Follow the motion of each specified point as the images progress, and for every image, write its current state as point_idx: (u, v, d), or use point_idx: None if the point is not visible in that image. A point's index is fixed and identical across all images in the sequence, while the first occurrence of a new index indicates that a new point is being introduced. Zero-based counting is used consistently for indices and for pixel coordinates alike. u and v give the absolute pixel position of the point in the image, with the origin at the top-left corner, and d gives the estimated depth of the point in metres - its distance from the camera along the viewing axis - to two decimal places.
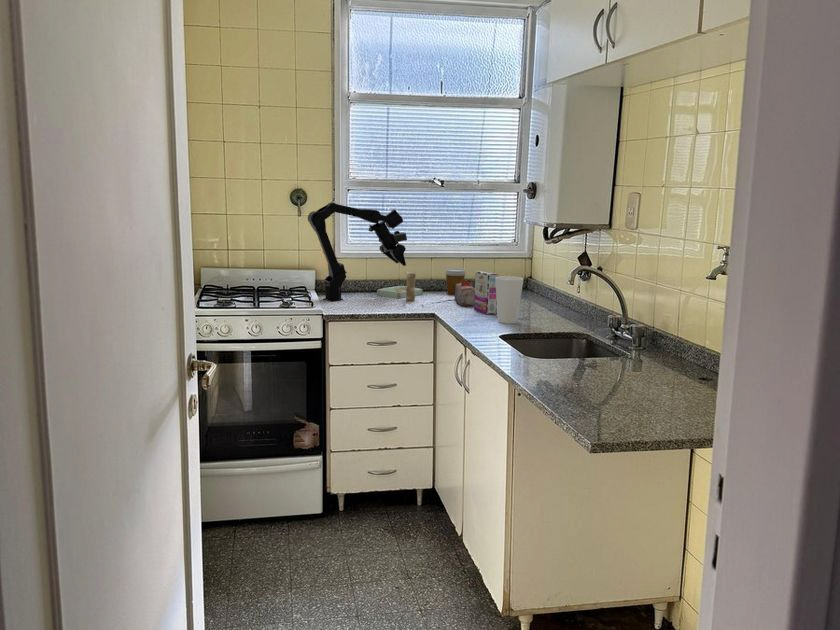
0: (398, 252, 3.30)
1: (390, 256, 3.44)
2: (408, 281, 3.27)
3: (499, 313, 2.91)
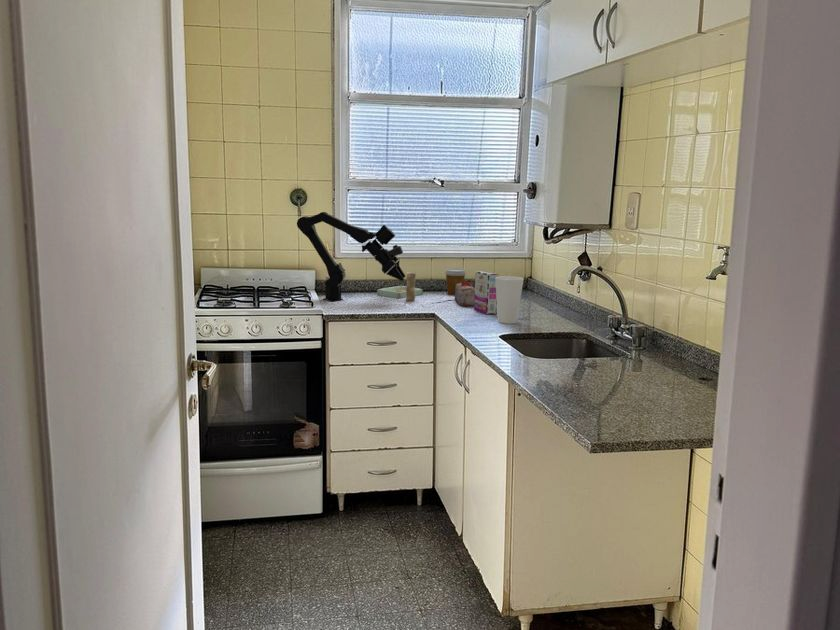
0: (387, 269, 3.19)
1: None
2: (408, 281, 3.27)
3: (499, 313, 2.91)
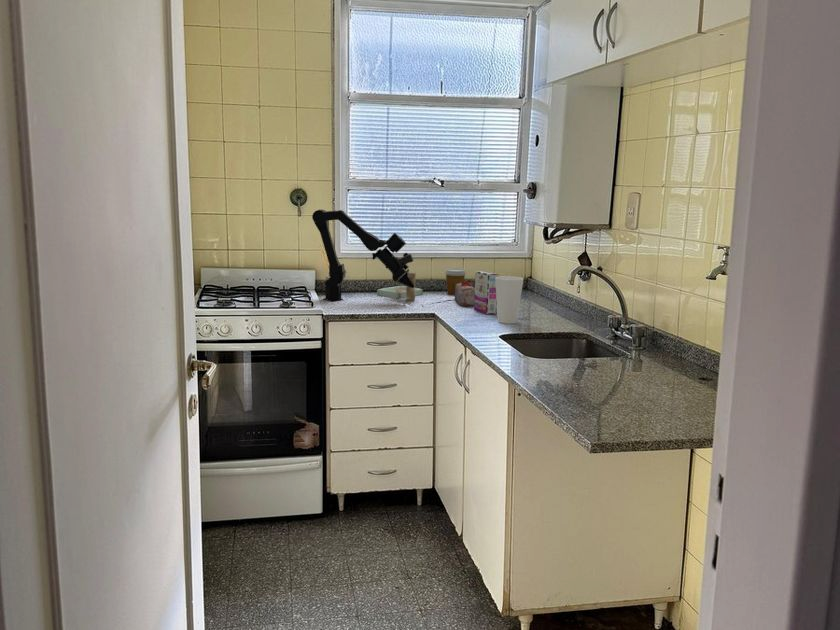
0: (398, 277, 3.20)
1: None
2: None
3: (499, 313, 2.91)
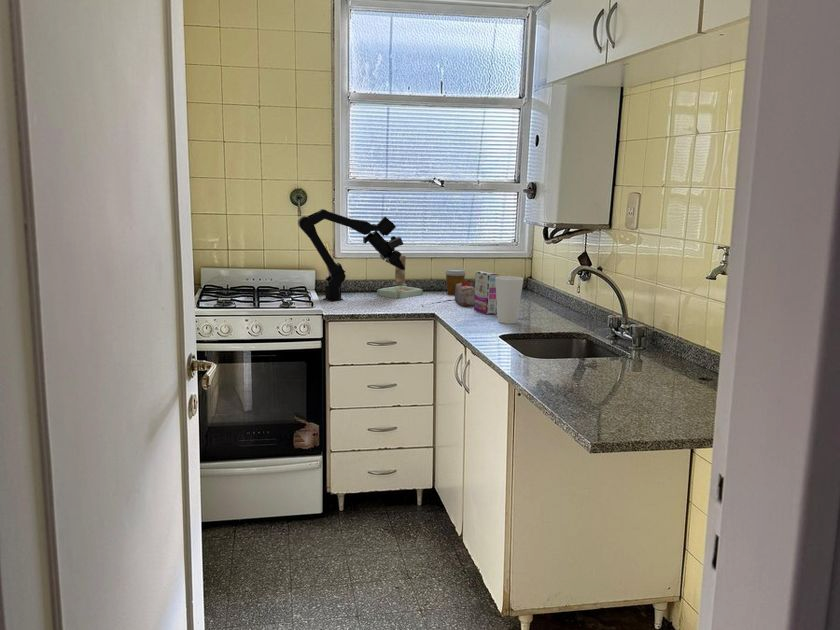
0: (394, 259, 3.27)
1: None
2: None
3: (499, 313, 2.91)
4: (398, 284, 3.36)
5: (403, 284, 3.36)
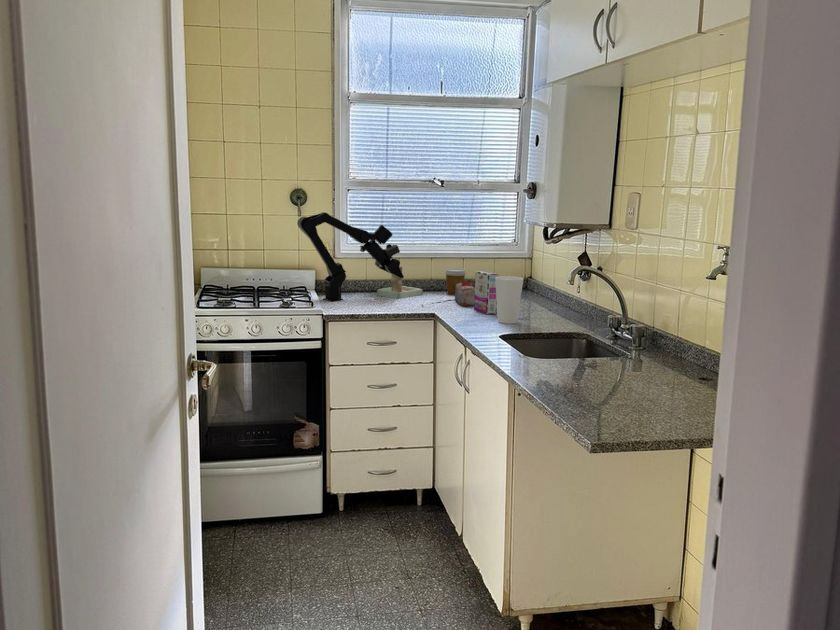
0: (393, 267, 3.30)
1: (387, 270, 3.44)
2: None
3: (499, 313, 2.91)
4: None
5: None
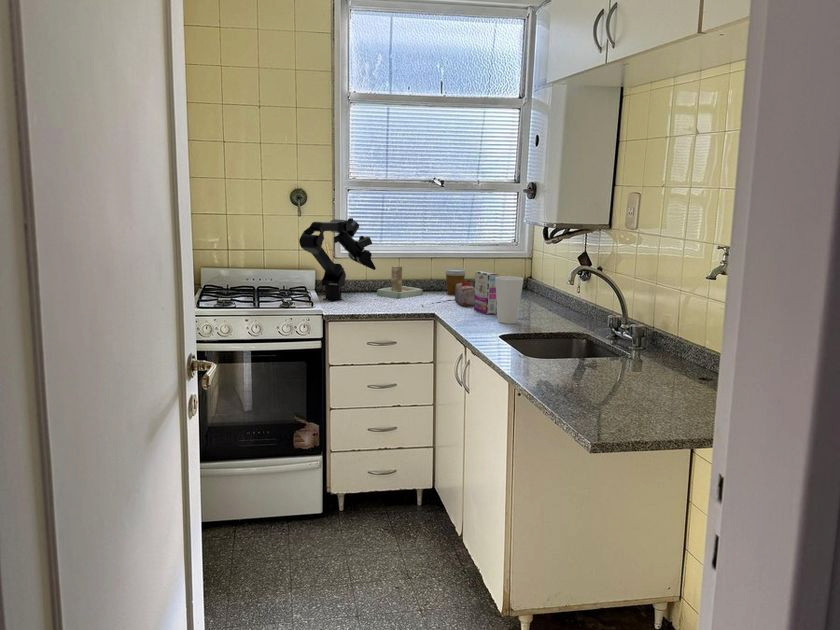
0: (364, 259, 3.31)
1: None
2: (396, 274, 3.39)
3: (499, 313, 2.91)
4: None
5: None
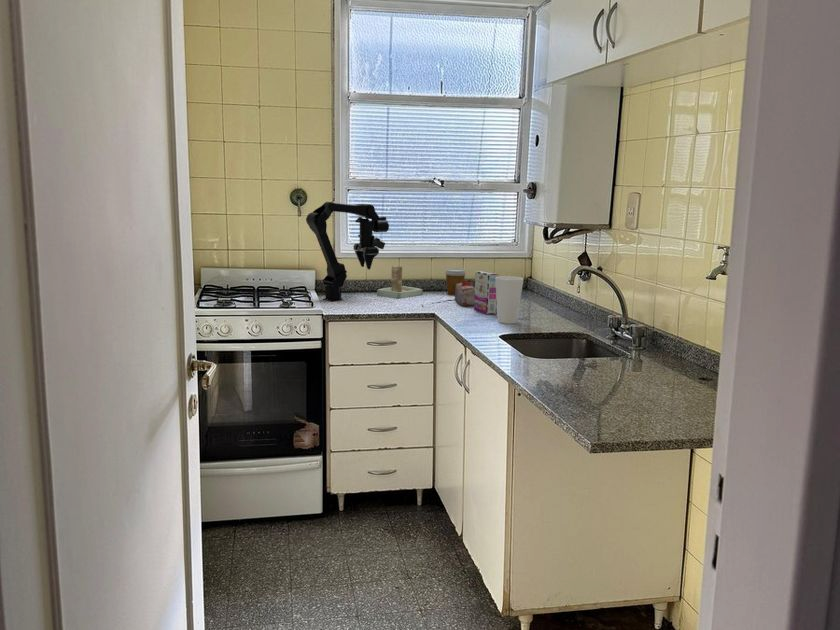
0: (370, 252, 3.29)
1: (359, 256, 3.43)
2: (396, 274, 3.39)
3: (499, 313, 2.91)
4: None
5: None
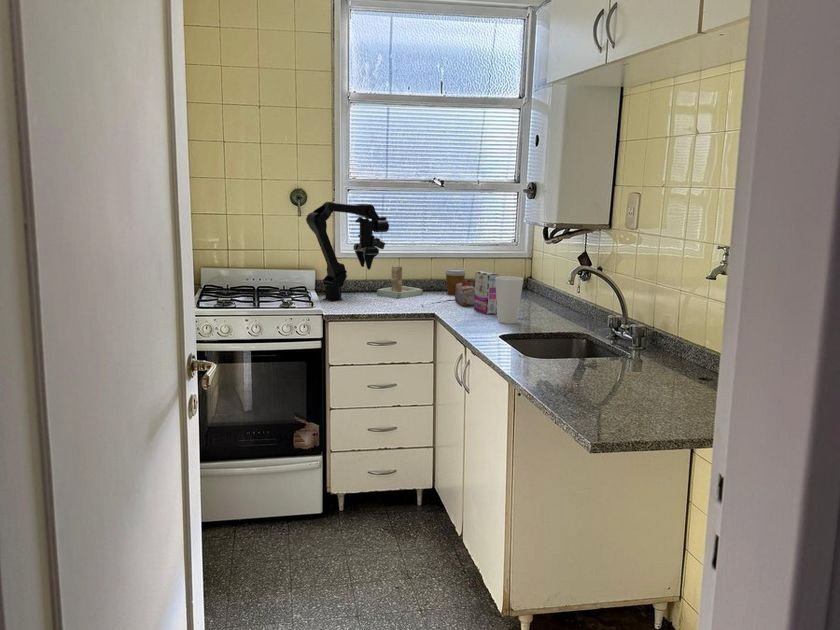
0: (370, 252, 3.29)
1: (359, 256, 3.43)
2: (396, 274, 3.39)
3: (499, 313, 2.91)
4: None
5: None
